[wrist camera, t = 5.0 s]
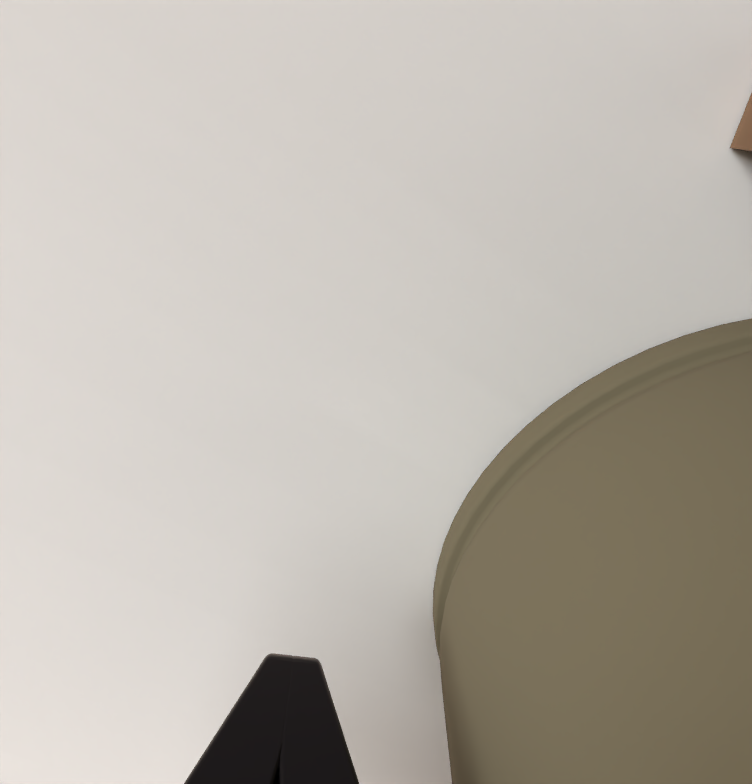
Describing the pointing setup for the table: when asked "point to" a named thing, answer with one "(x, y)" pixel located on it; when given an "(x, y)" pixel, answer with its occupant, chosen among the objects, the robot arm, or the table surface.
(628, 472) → the can
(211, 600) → the table surface
